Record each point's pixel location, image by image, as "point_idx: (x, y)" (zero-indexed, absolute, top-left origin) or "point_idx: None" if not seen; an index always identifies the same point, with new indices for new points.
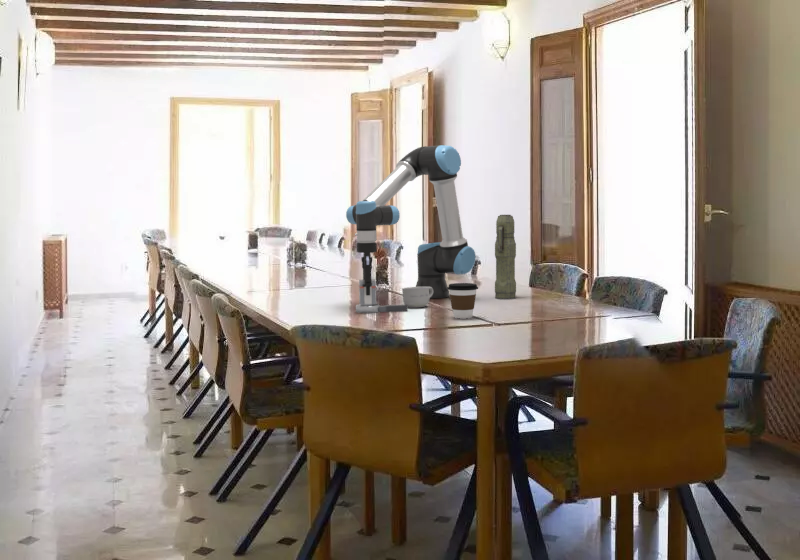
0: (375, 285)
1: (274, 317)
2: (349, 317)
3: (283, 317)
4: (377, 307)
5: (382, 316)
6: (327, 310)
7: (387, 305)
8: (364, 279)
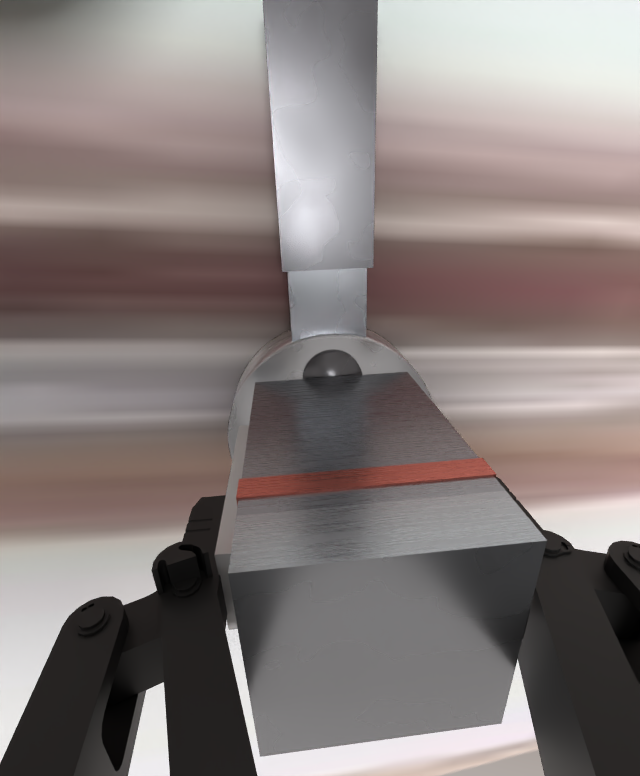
0: (498, 485)
1: (454, 764)
2: (581, 504)
3: (465, 741)
4: (394, 349)
5: (628, 300)
6: (228, 633)
7: (333, 252)
8: (536, 705)
